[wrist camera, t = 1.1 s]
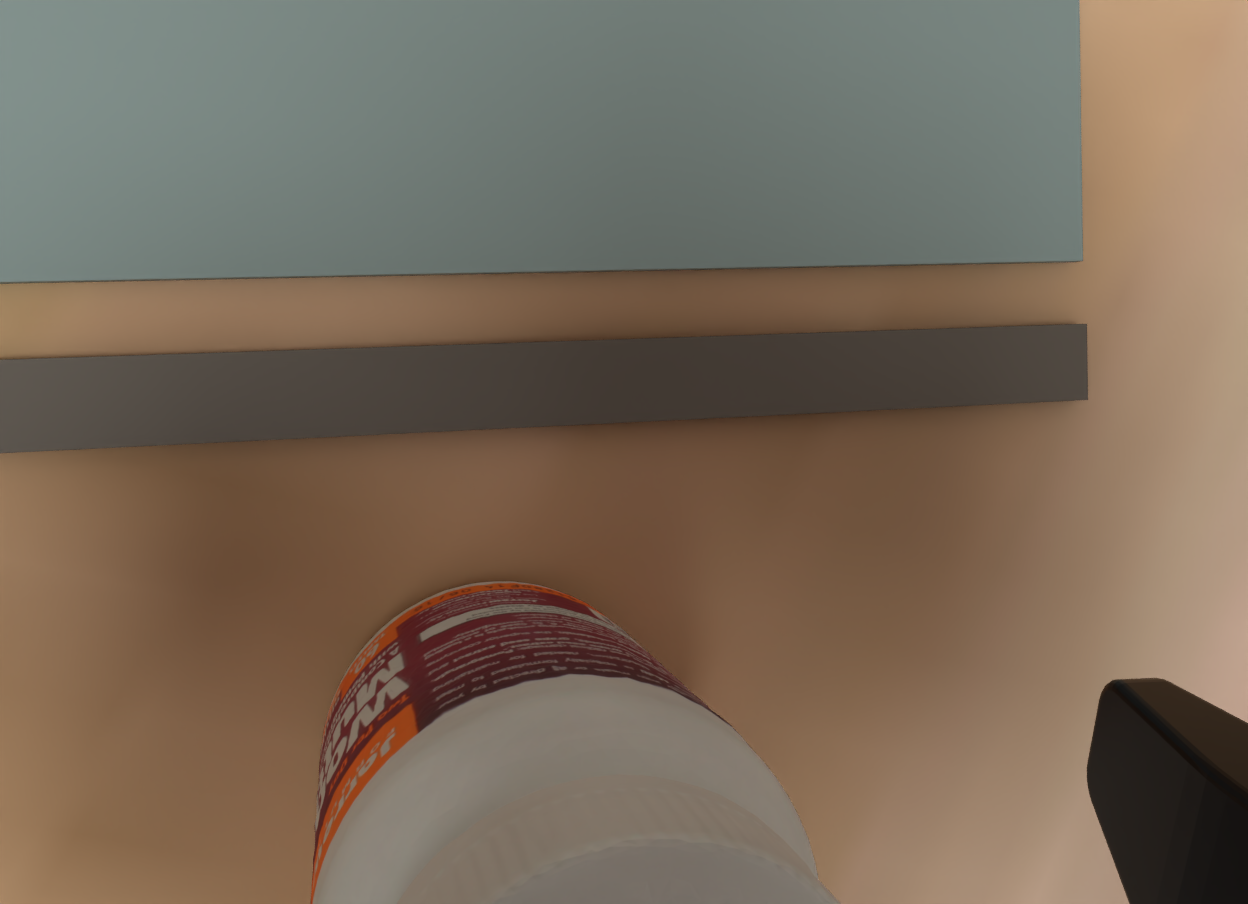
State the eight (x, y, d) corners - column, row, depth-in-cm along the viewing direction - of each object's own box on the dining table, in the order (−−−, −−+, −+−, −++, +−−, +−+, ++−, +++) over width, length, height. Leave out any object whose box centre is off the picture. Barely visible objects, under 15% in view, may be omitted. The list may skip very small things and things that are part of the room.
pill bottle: (317, 582, 21) (280, 806, 10) (657, 568, 22) (959, 750, 11) (325, 925, 21) (296, 1512, 10) (659, 890, 23) (954, 1373, 12)
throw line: (1076, 399, 24) (1088, 399, 24) (-286, 466, 19) (-299, 467, 18) (1074, 324, 24) (1086, 323, 23) (-294, 370, 19) (-308, 370, 18)
